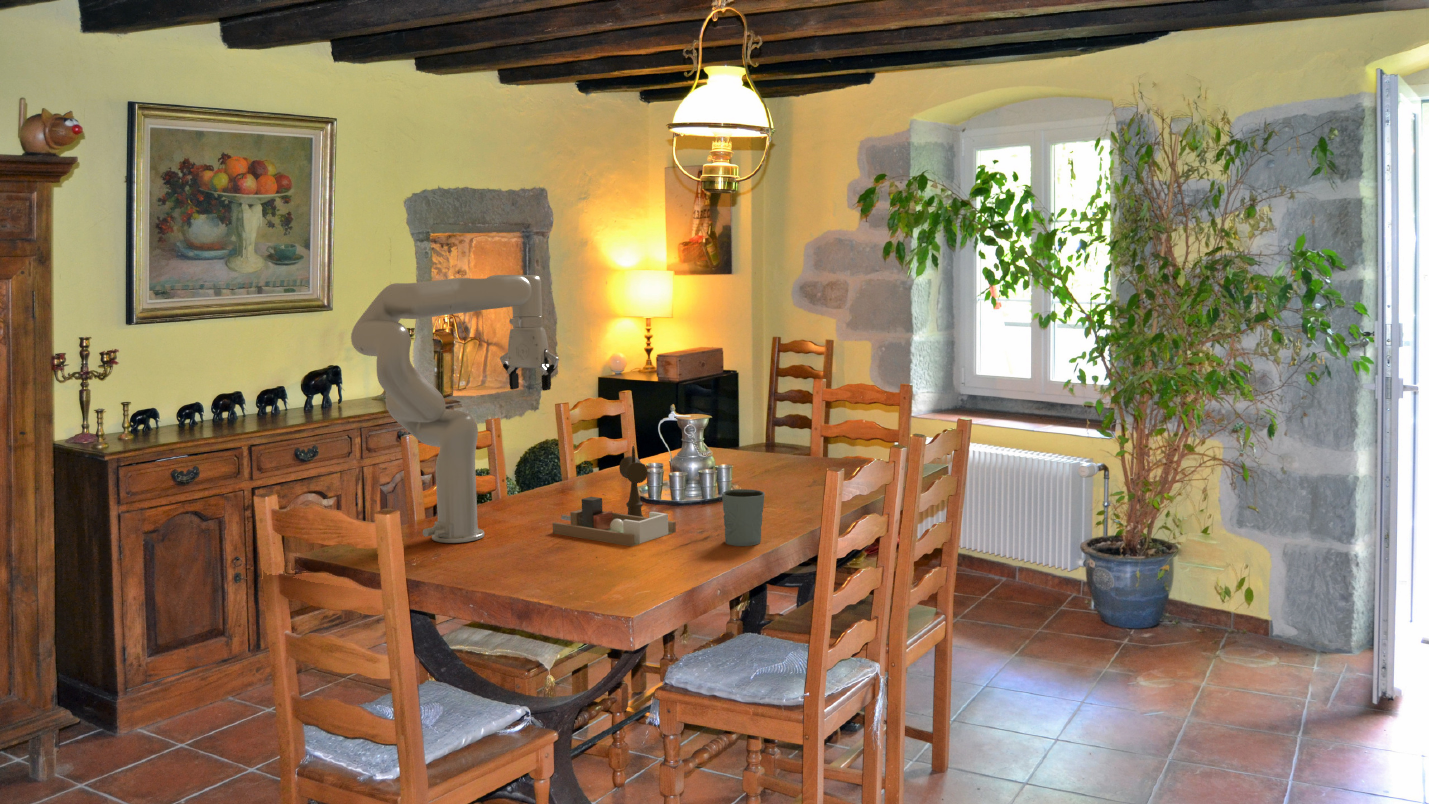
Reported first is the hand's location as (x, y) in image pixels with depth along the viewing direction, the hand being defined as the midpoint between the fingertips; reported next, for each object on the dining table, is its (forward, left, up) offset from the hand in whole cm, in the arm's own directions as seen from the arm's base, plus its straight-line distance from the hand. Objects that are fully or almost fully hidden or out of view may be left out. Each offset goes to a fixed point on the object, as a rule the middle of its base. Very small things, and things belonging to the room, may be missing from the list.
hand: (530, 389), depth 297 cm
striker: (-3, -20, -33) cm, 39 cm away
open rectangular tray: (-3, -30, -35) cm, 46 cm away
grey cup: (+10, -59, -35) cm, 69 cm away
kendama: (+13, -23, -35) cm, 44 cm away
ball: (-3, -31, -34) cm, 45 cm away
